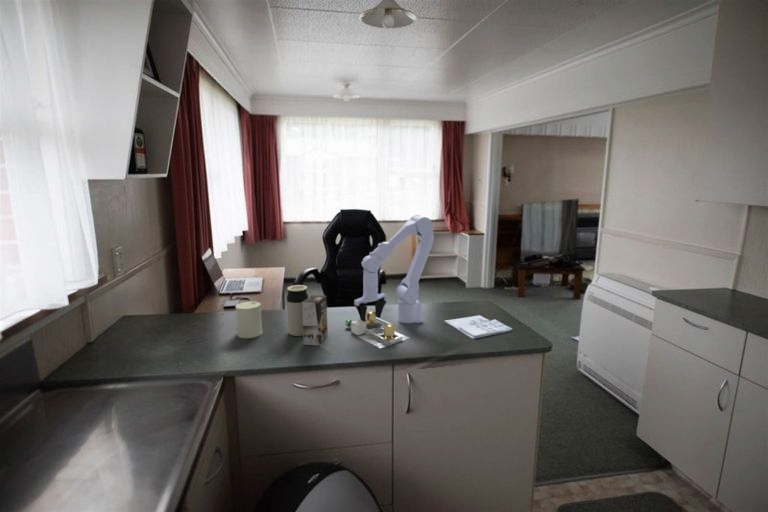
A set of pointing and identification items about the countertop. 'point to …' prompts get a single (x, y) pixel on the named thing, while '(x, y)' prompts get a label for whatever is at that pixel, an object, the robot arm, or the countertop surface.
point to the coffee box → (314, 319)
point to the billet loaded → (389, 331)
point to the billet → (370, 318)
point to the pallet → (381, 337)
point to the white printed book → (478, 326)
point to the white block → (358, 327)
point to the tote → (382, 321)
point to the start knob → (348, 322)
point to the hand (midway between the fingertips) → (370, 319)
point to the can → (249, 319)
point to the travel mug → (296, 309)
